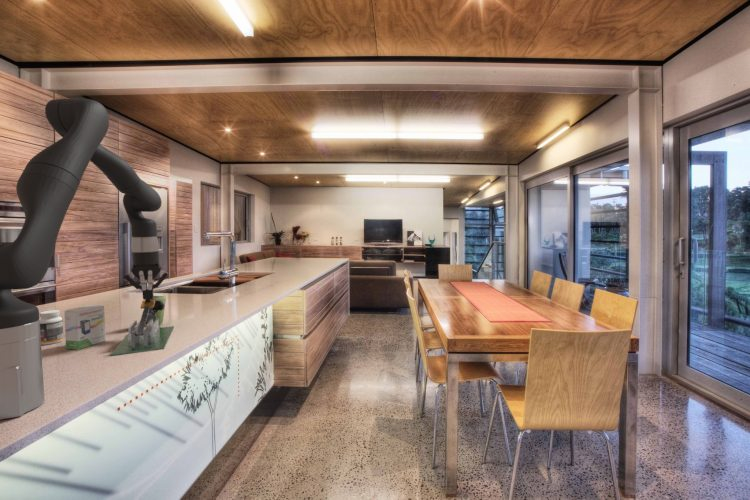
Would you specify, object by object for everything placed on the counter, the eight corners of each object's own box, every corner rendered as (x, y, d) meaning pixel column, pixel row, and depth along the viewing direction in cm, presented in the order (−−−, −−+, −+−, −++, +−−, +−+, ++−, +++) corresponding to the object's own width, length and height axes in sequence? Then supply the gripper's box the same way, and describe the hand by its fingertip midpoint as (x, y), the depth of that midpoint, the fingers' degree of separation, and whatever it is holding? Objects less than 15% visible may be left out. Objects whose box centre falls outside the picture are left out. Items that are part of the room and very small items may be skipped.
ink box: (93, 339, 110) (91, 304, 109) (106, 340, 109) (104, 304, 108) (64, 349, 101) (62, 310, 100) (78, 350, 100) (76, 311, 99)
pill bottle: (35, 343, 106) (33, 312, 106) (59, 338, 111) (57, 308, 111) (43, 346, 104) (41, 314, 103) (67, 341, 109) (65, 310, 108)
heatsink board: (164, 348, 101) (163, 328, 100) (110, 355, 95) (109, 334, 95) (173, 327, 123) (173, 310, 123) (130, 331, 118) (130, 314, 118)
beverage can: (145, 324, 127) (144, 293, 127) (168, 322, 130) (166, 291, 130) (142, 328, 122) (140, 296, 121) (165, 326, 125) (164, 294, 124)
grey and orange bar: (146, 335, 101) (146, 333, 101) (132, 337, 100) (131, 334, 99) (155, 301, 117) (155, 299, 116) (142, 302, 115) (142, 300, 115)
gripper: (118, 252, 107) (122, 305, 109) (166, 250, 113) (169, 301, 114) (124, 249, 114) (127, 299, 116) (169, 248, 120) (172, 296, 121)
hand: (148, 300), depth 115 cm, fingers closed
